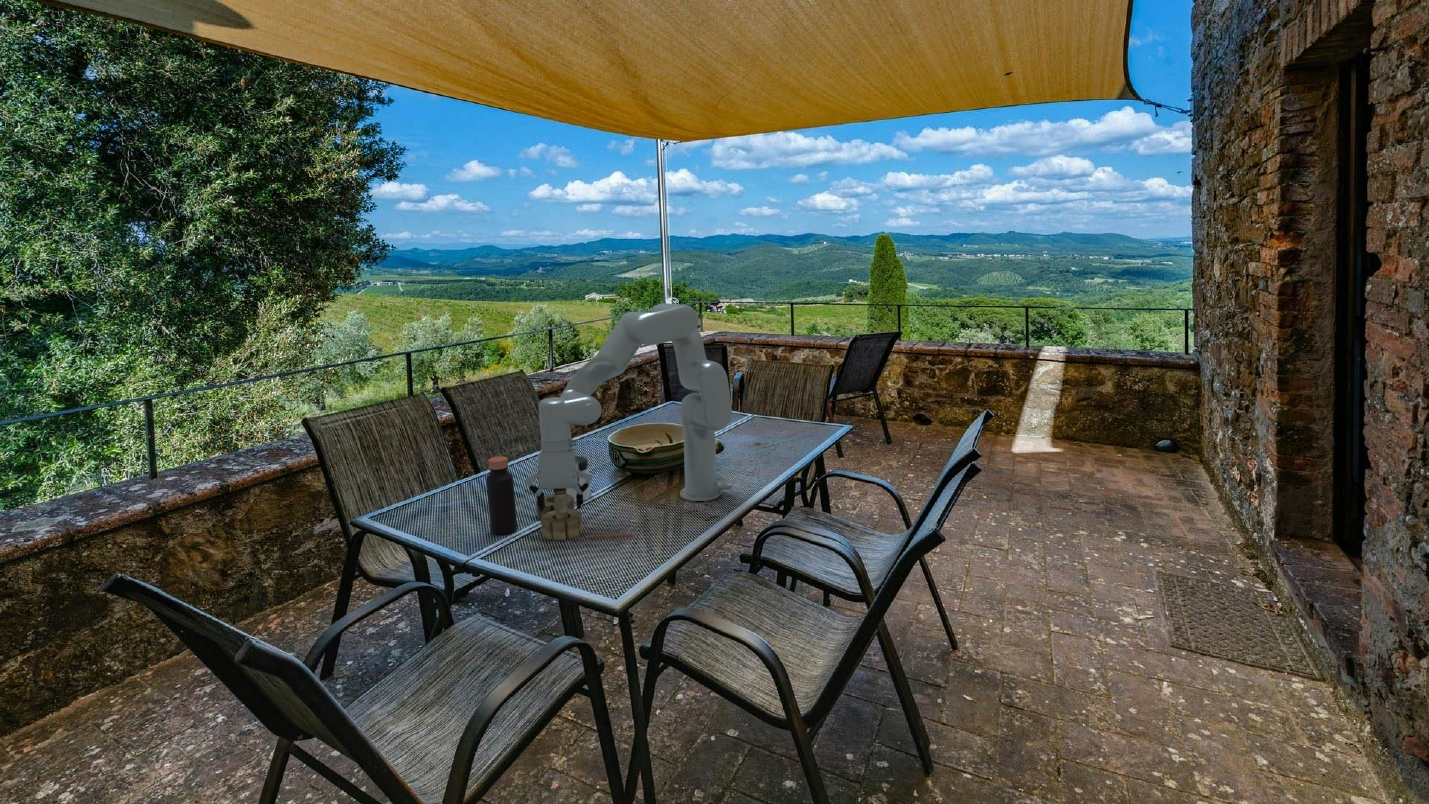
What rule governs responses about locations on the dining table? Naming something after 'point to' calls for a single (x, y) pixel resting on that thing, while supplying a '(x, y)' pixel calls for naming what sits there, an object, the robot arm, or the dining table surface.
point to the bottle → (501, 497)
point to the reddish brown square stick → (610, 535)
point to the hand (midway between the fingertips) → (560, 508)
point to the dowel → (560, 504)
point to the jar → (581, 479)
